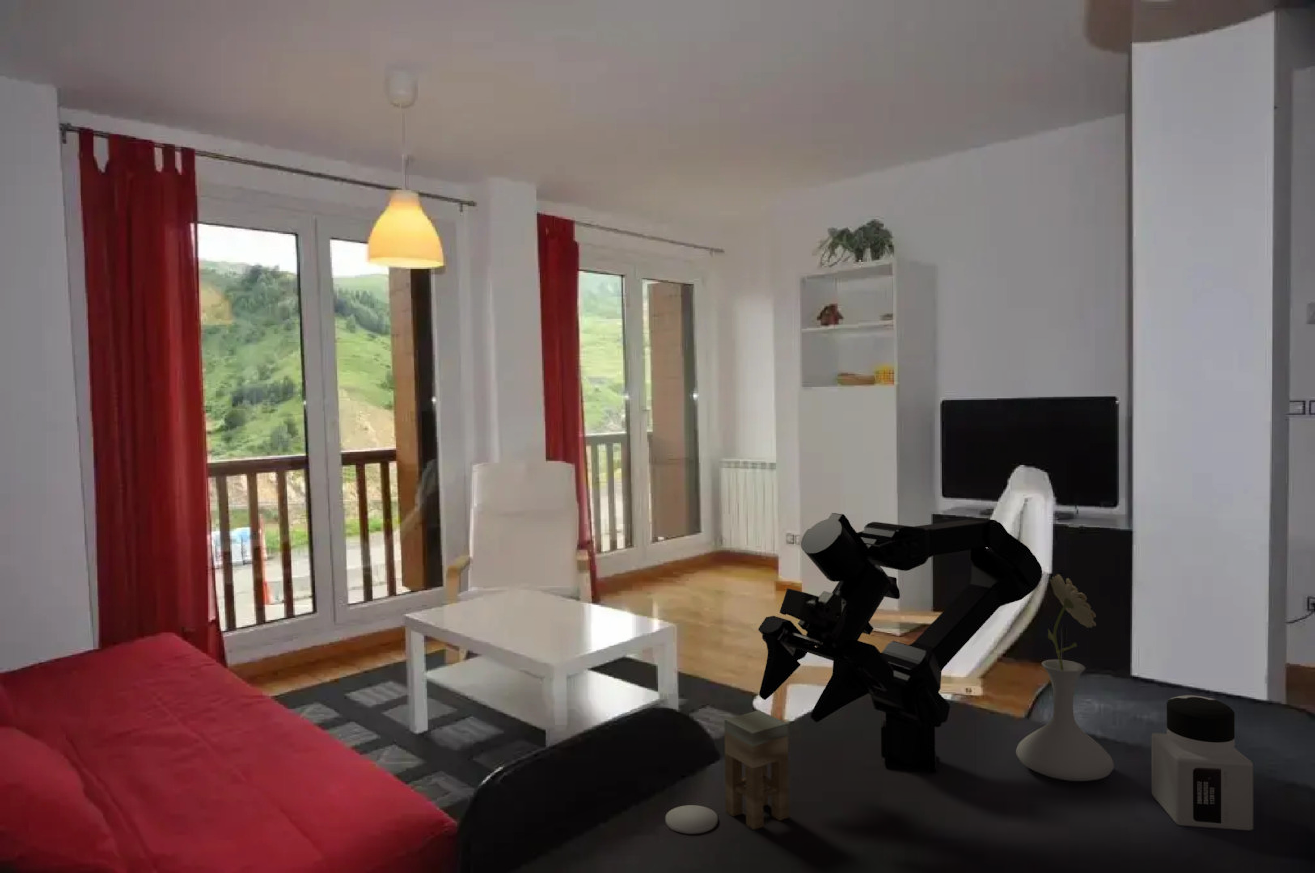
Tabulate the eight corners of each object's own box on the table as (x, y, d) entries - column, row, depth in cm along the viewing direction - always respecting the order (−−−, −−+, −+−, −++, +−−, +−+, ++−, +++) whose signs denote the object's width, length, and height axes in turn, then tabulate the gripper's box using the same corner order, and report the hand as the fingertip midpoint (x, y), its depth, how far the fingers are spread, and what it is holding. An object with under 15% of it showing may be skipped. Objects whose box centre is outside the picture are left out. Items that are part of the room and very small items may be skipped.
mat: (722, 812, 98) (722, 808, 98) (710, 836, 92) (710, 833, 92) (673, 805, 100) (673, 802, 100) (659, 829, 94) (659, 826, 94)
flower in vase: (1121, 796, 100) (1120, 590, 100) (1018, 783, 104) (1017, 584, 103) (1104, 754, 112) (1103, 570, 112) (1012, 744, 116) (1011, 566, 116)
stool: (760, 799, 101) (758, 710, 100) (788, 817, 96) (787, 723, 96) (725, 811, 98) (724, 719, 98) (753, 829, 94) (752, 733, 93)
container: (1254, 831, 91) (1254, 714, 91) (1176, 826, 93) (1176, 710, 92) (1221, 799, 99) (1221, 691, 98) (1150, 794, 100) (1150, 688, 100)
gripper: (768, 554, 110) (701, 650, 104) (876, 576, 94) (804, 691, 88) (813, 605, 114) (751, 700, 108) (923, 634, 98) (857, 747, 93)
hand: (786, 708), depth 99 cm, fingers open, 9 cm apart
